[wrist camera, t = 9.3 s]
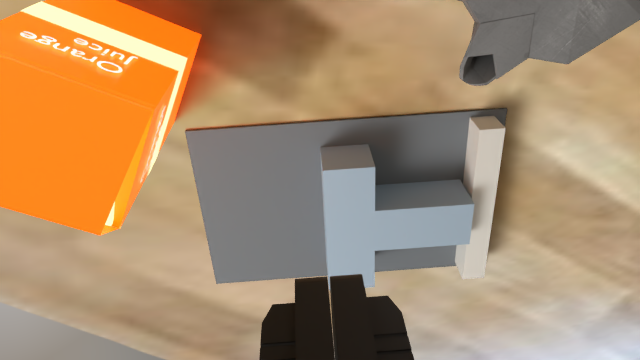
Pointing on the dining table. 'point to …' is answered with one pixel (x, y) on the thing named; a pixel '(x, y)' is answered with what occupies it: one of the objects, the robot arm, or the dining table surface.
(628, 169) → the dining table surface
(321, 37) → the dining table surface
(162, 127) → the orange juice
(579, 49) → the coffeepot
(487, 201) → the rail
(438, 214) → the t block
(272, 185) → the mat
